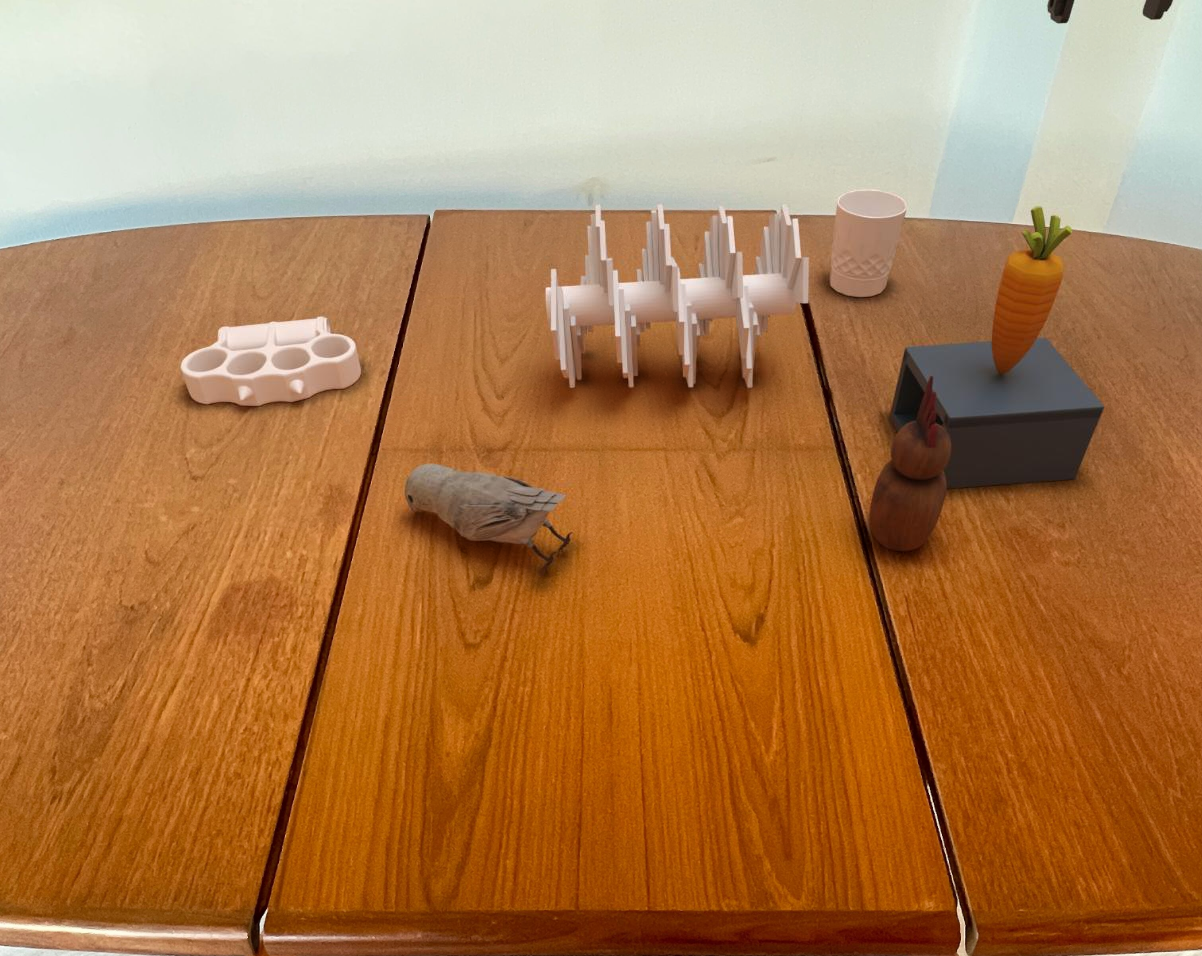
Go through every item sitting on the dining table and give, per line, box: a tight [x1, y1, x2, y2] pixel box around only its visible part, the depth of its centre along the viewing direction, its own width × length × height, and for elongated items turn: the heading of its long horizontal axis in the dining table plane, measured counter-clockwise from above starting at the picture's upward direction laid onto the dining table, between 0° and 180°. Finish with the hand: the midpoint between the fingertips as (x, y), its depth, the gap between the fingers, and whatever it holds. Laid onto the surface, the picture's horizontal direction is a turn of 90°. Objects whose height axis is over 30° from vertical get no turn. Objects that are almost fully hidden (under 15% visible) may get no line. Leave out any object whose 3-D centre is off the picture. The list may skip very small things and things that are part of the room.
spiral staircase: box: [545, 203, 810, 389], centre depth 99 cm, size 18×18×25 cm
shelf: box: [888, 337, 1105, 490], centre depth 92 cm, size 14×12×8 cm
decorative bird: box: [404, 462, 574, 576], centre depth 84 cm, size 5×16×7 cm, turn 62°
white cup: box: [829, 188, 908, 298], centre depth 116 cm, size 8×8×10 cm
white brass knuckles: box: [180, 316, 362, 407], centre depth 105 cm, size 3×18×15 cm
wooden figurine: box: [869, 376, 951, 552], centre depth 81 cm, size 7×6×15 cm
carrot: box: [991, 205, 1073, 375], centre depth 84 cm, size 5×5×15 cm
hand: (1105, 19), depth 86 cm, fingers open, 8 cm apart
